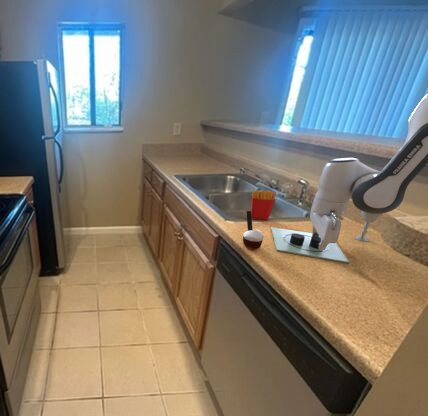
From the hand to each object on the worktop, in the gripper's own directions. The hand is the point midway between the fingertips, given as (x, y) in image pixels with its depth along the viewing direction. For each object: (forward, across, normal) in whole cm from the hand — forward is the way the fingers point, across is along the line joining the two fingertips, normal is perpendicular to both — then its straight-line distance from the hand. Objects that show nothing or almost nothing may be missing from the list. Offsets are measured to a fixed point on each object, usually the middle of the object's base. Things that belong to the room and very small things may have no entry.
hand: (317, 242), depth 96 cm
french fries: (+2, +22, +17) cm, 28 cm away
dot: (+1, 0, 0) cm, 1 cm away
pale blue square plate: (+2, +2, +3) cm, 4 cm away
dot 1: (+1, 0, +6) cm, 6 cm away
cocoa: (+2, -8, +21) cm, 23 cm away
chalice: (+2, +10, -15) cm, 18 cm away
